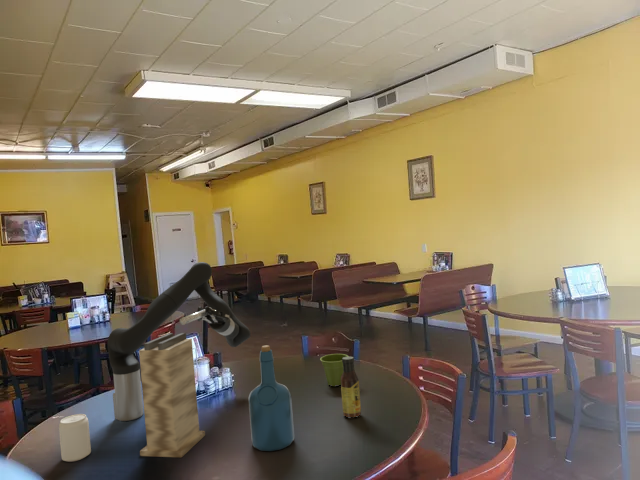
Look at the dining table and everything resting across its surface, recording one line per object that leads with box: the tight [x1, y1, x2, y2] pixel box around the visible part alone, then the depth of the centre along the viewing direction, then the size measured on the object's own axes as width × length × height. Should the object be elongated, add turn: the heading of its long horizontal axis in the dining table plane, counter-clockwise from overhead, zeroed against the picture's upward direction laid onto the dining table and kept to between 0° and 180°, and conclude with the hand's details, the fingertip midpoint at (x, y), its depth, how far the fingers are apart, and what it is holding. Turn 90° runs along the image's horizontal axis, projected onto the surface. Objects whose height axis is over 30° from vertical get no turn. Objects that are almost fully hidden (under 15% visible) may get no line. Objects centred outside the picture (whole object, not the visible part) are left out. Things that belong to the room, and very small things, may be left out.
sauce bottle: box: [340, 356, 362, 418], centre depth 161 cm, size 6×6×20 cm
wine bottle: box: [248, 344, 295, 452], centre depth 144 cm, size 14×13×30 cm
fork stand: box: [138, 332, 206, 458], centre depth 148 cm, size 14×15×34 cm
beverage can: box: [58, 413, 92, 463], centre depth 146 cm, size 8×8×12 cm
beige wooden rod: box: [179, 308, 212, 326], centre depth 169 cm, size 20×2×2 cm, turn 167°
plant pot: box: [319, 353, 350, 386], centre depth 195 cm, size 12×12×11 cm
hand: (202, 309), depth 173 cm, fingers closed on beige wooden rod, 2 cm apart
